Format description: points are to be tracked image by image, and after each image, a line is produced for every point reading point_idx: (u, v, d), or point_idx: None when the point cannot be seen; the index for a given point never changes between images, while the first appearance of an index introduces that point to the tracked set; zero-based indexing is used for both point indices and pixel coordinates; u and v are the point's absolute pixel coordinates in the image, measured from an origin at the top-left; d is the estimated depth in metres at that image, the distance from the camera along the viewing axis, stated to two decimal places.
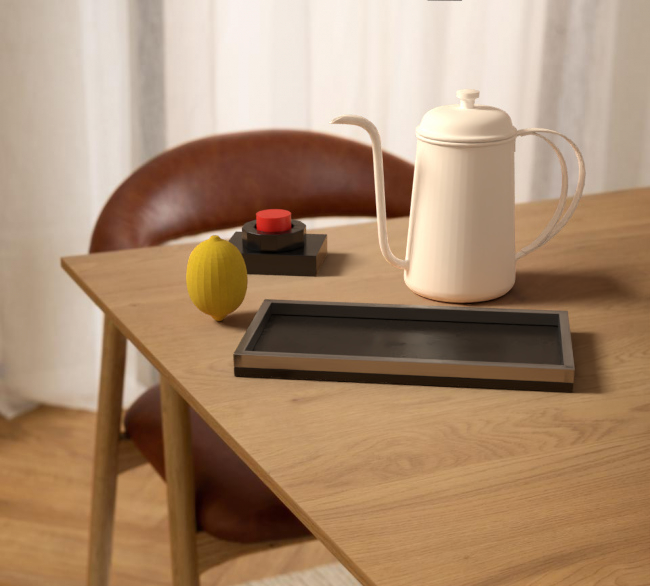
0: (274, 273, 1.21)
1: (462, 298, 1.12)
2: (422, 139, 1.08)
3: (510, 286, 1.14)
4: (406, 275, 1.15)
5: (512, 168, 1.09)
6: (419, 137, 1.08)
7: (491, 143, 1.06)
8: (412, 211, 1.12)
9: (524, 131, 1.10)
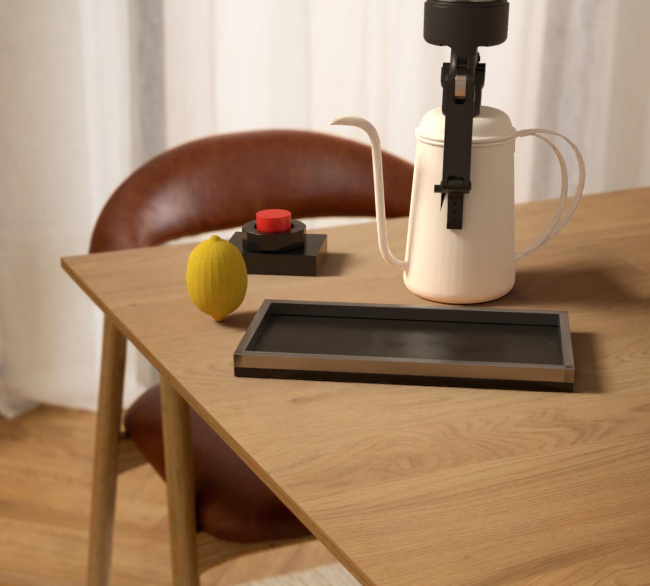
0: (274, 273, 1.21)
1: (461, 300, 1.11)
2: (421, 140, 1.08)
3: (510, 287, 1.13)
4: (406, 276, 1.15)
5: (512, 169, 1.09)
6: (418, 138, 1.08)
7: (490, 143, 1.06)
8: (411, 212, 1.12)
9: (524, 132, 1.10)
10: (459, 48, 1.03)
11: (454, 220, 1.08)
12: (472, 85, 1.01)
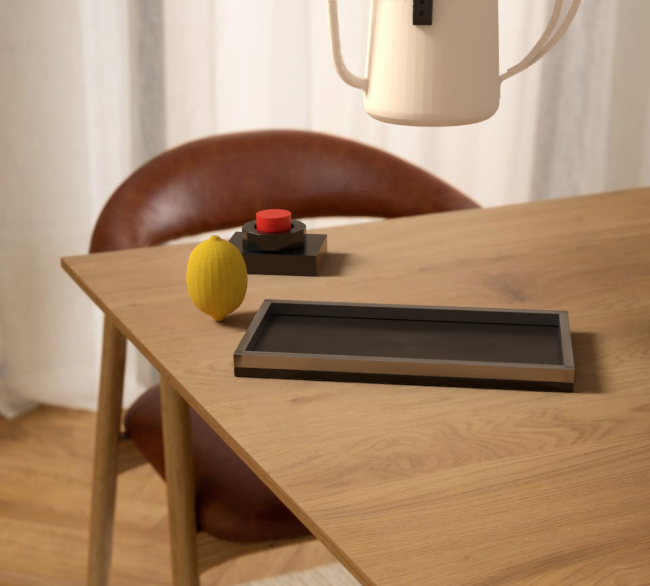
0: (274, 273, 1.21)
1: (432, 120, 0.90)
2: None
3: (492, 109, 0.92)
4: (365, 97, 0.93)
5: None
6: None
7: None
8: (371, 13, 0.91)
9: None
10: None
11: (422, 13, 0.87)
12: None
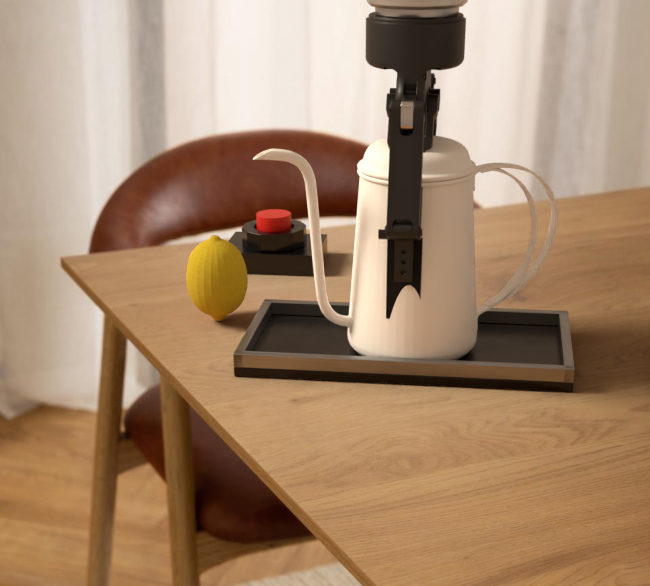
0: (274, 273, 1.21)
1: None
2: (364, 177, 0.92)
3: (470, 347, 0.97)
4: (349, 333, 0.98)
5: (470, 211, 0.93)
6: (360, 175, 0.92)
7: (444, 182, 0.90)
8: (355, 260, 0.96)
9: (485, 167, 0.94)
10: (406, 71, 0.87)
11: (403, 271, 0.91)
12: (421, 112, 0.85)
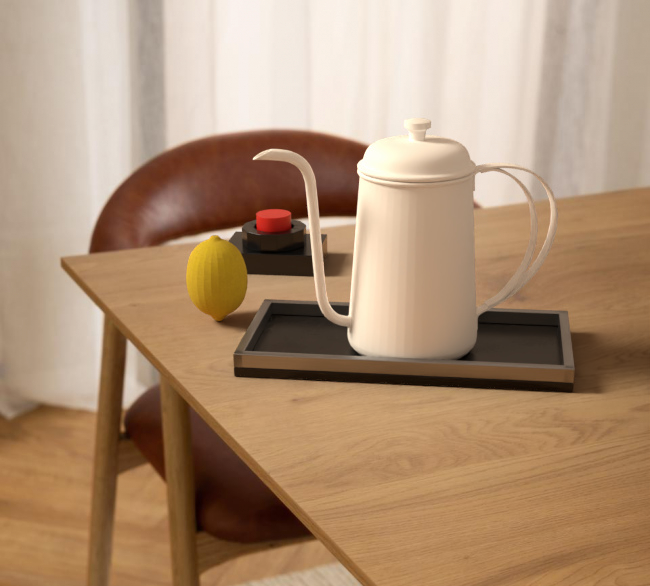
0: (274, 273, 1.21)
1: None
2: (364, 177, 0.92)
3: (470, 347, 0.97)
4: (349, 333, 0.98)
5: (470, 211, 0.93)
6: (360, 175, 0.92)
7: (444, 182, 0.90)
8: (355, 260, 0.96)
9: (485, 167, 0.94)
10: None
11: None
12: None
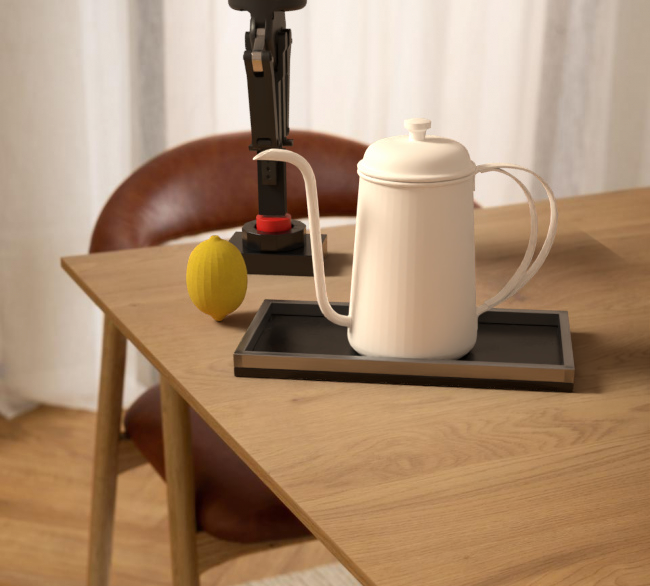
0: (274, 273, 1.21)
1: None
2: (364, 177, 0.92)
3: (470, 347, 0.97)
4: (349, 333, 0.98)
5: (470, 211, 0.93)
6: (360, 175, 0.92)
7: (444, 182, 0.90)
8: (355, 260, 0.96)
9: (485, 167, 0.94)
10: (256, 12, 1.09)
11: (269, 176, 1.18)
12: (267, 63, 1.09)
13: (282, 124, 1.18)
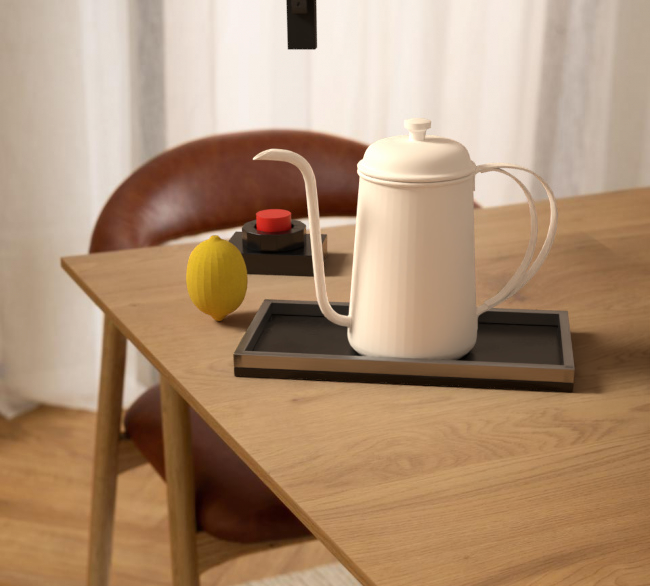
0: (274, 273, 1.21)
1: None
2: (364, 177, 0.92)
3: (470, 347, 0.97)
4: (349, 333, 0.98)
5: (470, 211, 0.93)
6: (360, 175, 0.92)
7: (444, 182, 0.90)
8: (355, 260, 0.96)
9: (485, 167, 0.94)
10: None
11: (298, 4, 1.13)
12: None
13: None
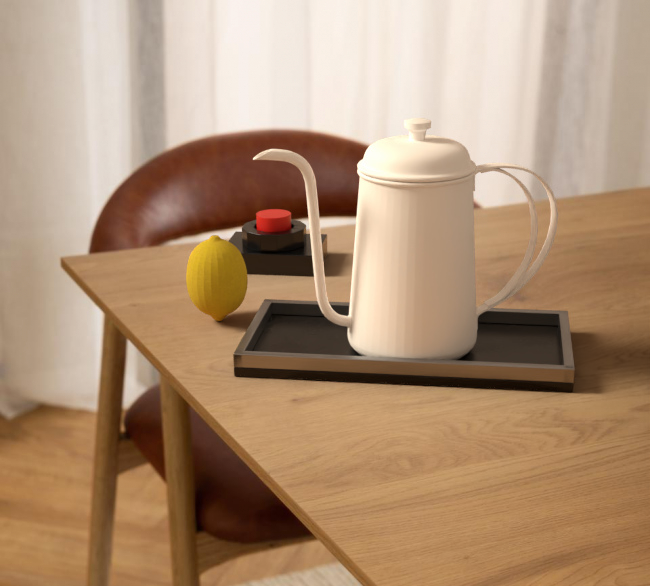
0: (274, 273, 1.21)
1: None
2: (364, 177, 0.92)
3: (470, 347, 0.97)
4: (349, 333, 0.98)
5: (470, 211, 0.93)
6: (360, 175, 0.92)
7: (444, 182, 0.90)
8: (355, 260, 0.96)
9: (485, 167, 0.94)
10: None
11: None
12: None
13: None
